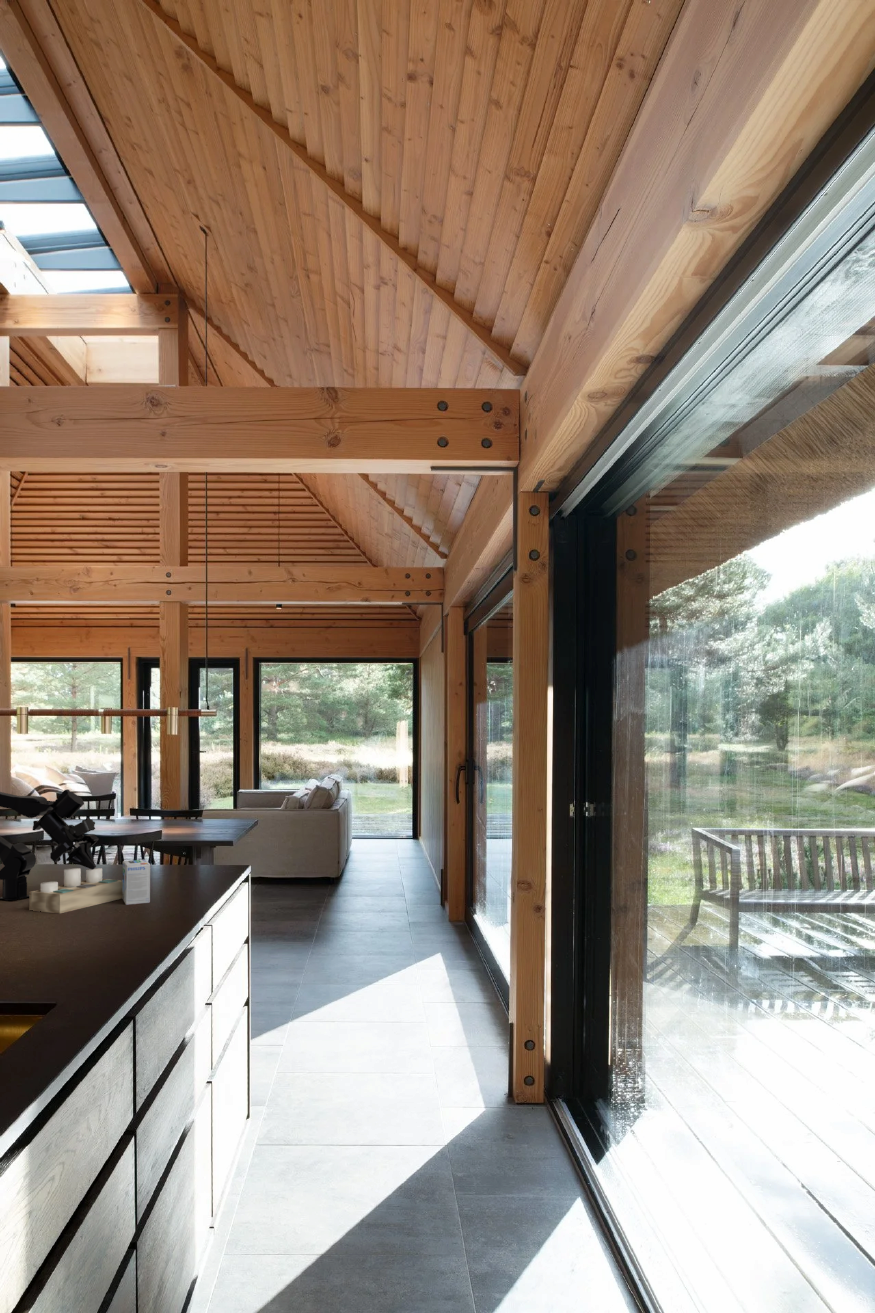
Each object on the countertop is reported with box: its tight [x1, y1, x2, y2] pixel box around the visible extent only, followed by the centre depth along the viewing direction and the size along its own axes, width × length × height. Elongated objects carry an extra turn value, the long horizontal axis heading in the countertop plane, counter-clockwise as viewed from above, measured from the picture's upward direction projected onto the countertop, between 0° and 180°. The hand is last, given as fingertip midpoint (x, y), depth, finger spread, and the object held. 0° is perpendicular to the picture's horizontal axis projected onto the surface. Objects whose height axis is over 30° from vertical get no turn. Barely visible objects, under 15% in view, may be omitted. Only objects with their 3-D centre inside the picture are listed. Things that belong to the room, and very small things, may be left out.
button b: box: [63, 867, 82, 888], centre depth 261 cm, size 4×4×7 cm
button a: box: [40, 881, 59, 893], centre depth 253 cm, size 4×4×7 cm
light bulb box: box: [122, 859, 151, 906], centre depth 263 cm, size 11×7×11 cm, turn 25°
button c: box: [85, 867, 103, 883], centre depth 268 cm, size 4×4×7 cm
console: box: [28, 878, 123, 914], centre depth 259 cm, size 12×23×5 cm, turn 154°
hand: (94, 868), depth 268 cm, fingers closed, pressing on button c
